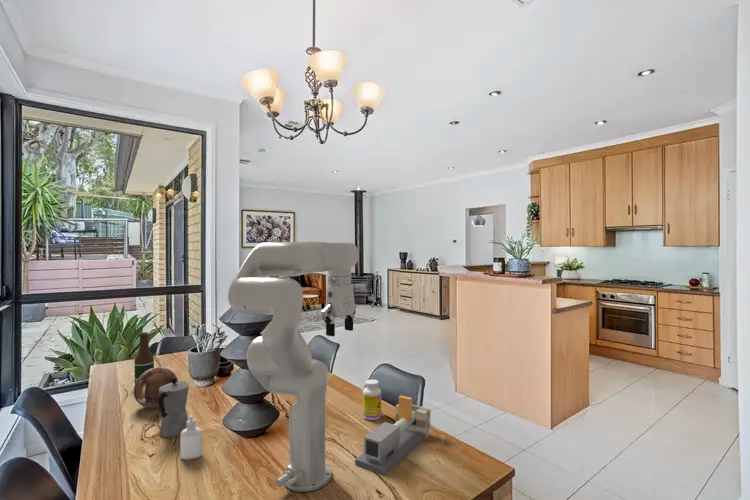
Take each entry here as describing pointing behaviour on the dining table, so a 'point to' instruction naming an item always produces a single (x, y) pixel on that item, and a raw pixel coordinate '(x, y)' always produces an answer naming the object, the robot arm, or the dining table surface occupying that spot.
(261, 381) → the robot arm
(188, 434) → the eye dropper bottle
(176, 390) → the coffeepot
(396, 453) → the base board
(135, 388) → the wooden sphere
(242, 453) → the dining table surface
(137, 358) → the beer bottle
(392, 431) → the sleeve
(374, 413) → the supplement bottle
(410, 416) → the orange upright peg
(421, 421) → the socket block
